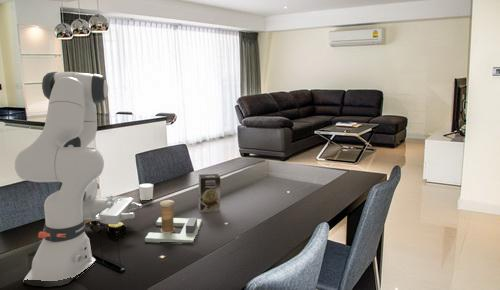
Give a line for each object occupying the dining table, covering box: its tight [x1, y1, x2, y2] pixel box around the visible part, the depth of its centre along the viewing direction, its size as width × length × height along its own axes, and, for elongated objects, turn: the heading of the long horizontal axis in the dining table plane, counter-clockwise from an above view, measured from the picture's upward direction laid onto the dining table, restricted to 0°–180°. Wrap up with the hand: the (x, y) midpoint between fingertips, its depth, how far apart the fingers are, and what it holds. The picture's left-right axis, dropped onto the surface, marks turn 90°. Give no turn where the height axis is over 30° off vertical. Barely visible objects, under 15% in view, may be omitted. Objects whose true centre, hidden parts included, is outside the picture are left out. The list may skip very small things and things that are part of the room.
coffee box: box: [197, 173, 221, 213], centre depth 179 cm, size 9×6×16 cm
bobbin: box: [159, 199, 176, 234], centre depth 156 cm, size 6×6×12 cm
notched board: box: [144, 216, 203, 243], centre depth 156 cm, size 20×18×4 cm
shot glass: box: [138, 182, 154, 201], centre depth 191 cm, size 7×7×7 cm
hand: (138, 211), depth 156 cm, fingers open, 8 cm apart
